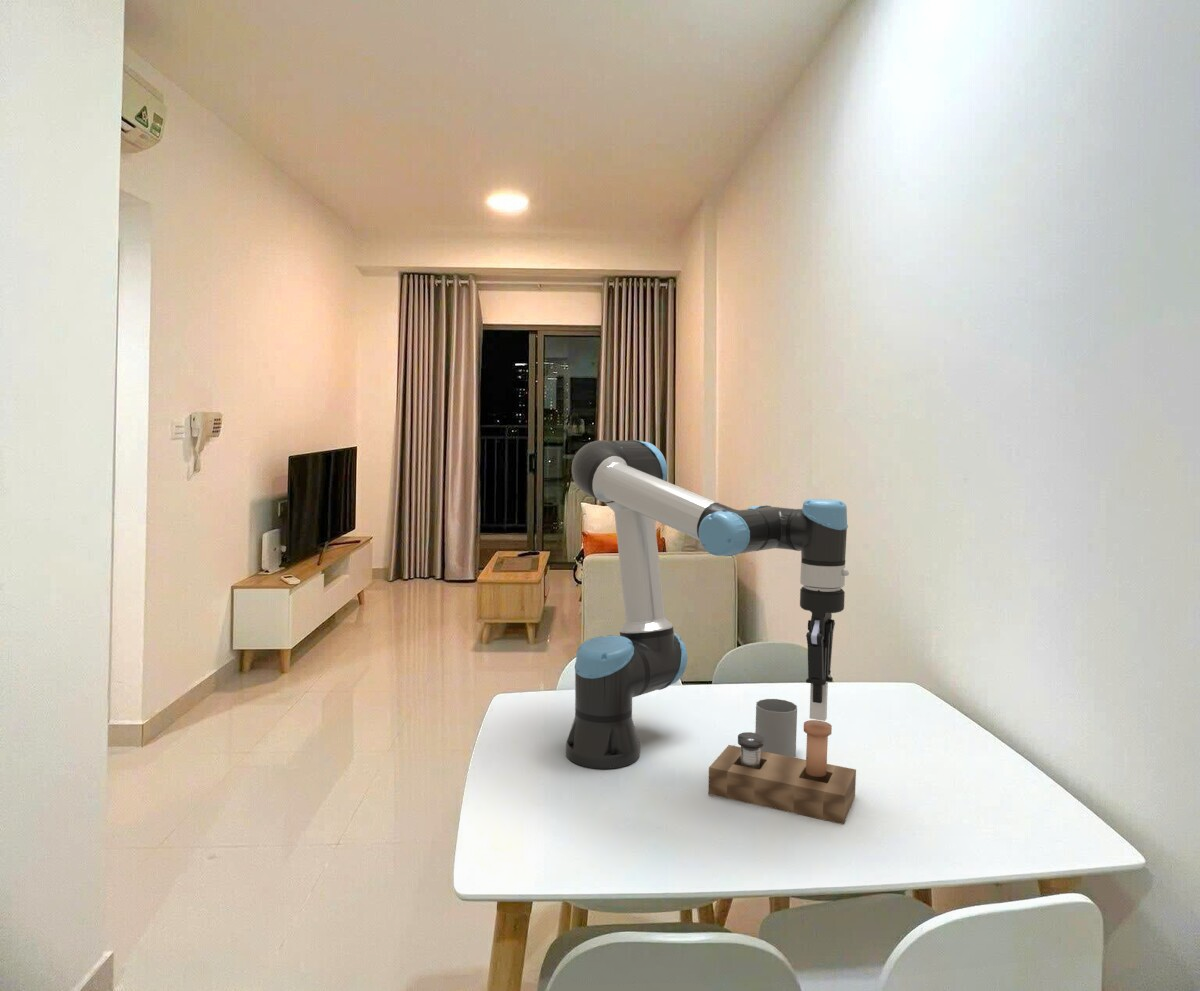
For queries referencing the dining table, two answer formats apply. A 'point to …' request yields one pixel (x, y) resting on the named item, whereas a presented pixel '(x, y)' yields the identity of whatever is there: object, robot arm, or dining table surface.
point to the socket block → (784, 785)
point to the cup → (777, 726)
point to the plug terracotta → (817, 747)
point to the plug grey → (750, 749)
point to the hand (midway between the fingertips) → (818, 718)
